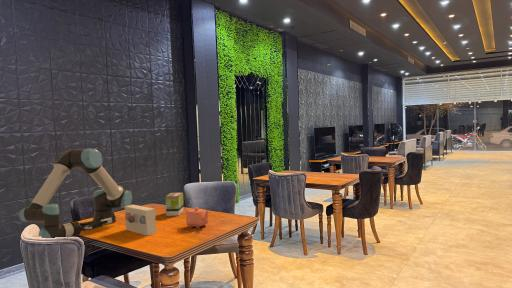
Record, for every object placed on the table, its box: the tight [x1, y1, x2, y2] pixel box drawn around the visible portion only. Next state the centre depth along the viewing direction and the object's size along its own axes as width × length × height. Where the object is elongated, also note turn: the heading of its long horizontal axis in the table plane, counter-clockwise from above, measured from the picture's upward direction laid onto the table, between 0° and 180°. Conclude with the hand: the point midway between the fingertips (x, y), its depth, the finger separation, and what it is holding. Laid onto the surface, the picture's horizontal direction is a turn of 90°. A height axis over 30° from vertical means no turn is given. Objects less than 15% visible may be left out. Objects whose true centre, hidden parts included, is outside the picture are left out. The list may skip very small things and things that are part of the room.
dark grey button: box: [140, 216, 145, 224], centre depth 216 cm, size 4×2×4 cm, turn 50°
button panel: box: [124, 204, 157, 237], centre depth 223 cm, size 24×6×15 cm, turn 50°
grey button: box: [128, 215, 135, 223], centre depth 219 cm, size 4×2×4 cm, turn 50°
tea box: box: [165, 192, 185, 217], centre depth 268 cm, size 15×10×15 cm, turn 179°
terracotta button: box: [124, 213, 131, 220], centre depth 226 cm, size 4×2×4 cm, turn 50°
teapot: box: [185, 207, 210, 230], centre depth 229 cm, size 20×12×12 cm, turn 58°
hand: (111, 220), depth 217 cm, fingers closed
